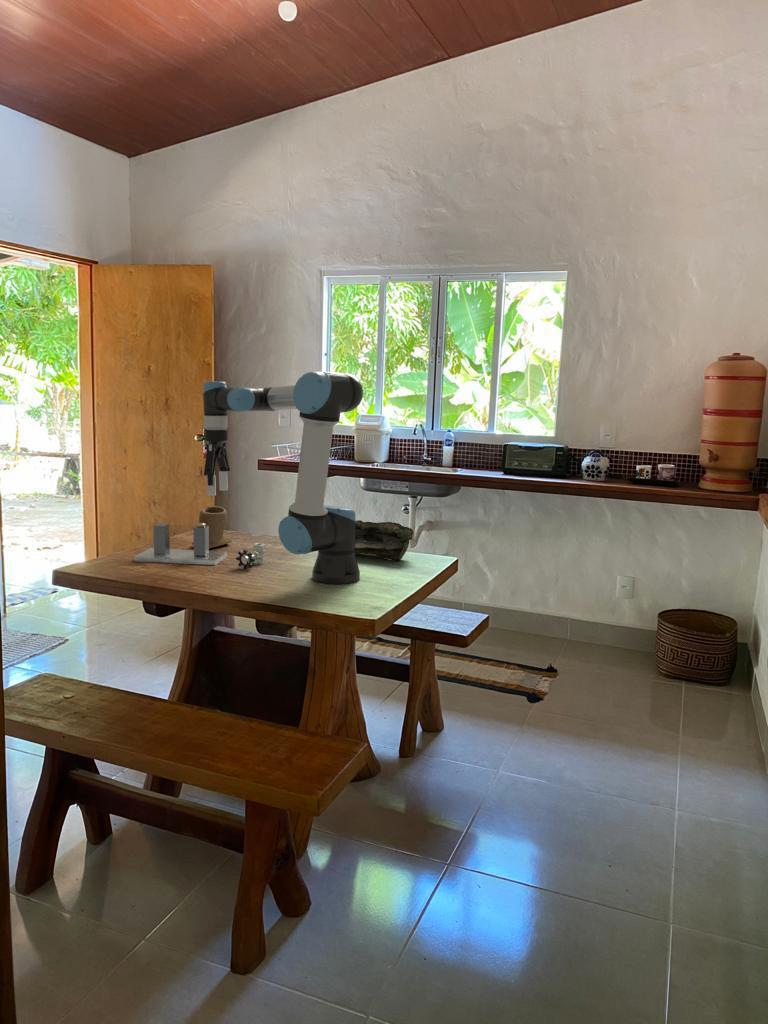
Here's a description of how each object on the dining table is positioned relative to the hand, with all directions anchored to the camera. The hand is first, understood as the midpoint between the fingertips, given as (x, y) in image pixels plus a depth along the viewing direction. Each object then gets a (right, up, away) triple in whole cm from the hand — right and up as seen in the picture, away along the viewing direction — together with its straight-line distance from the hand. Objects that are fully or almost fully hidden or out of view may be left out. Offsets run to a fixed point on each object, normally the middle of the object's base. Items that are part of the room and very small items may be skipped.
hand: (217, 492), depth 252 cm
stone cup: (-7, -19, +29) cm, 35 cm away
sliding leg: (-7, -21, +7) cm, 23 cm away
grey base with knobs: (-14, -22, +8) cm, 28 cm away
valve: (+12, -25, +2) cm, 27 cm away
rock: (+53, -23, +17) cm, 60 cm away
